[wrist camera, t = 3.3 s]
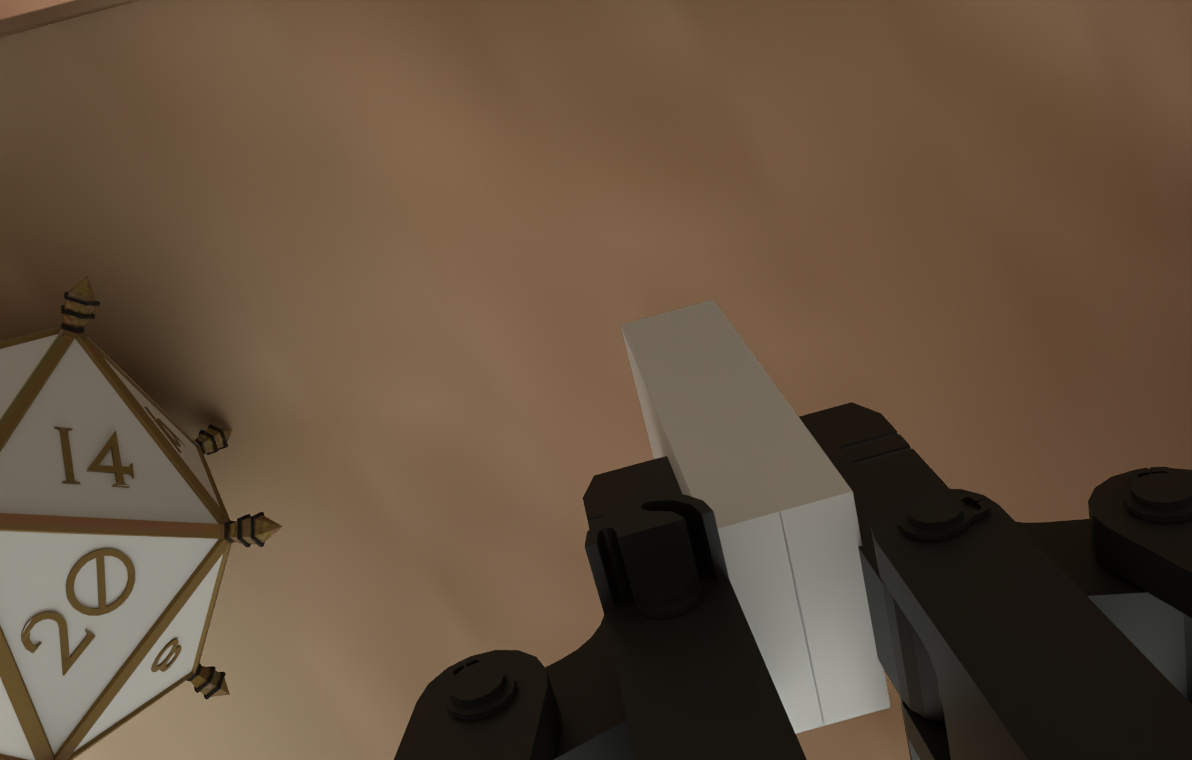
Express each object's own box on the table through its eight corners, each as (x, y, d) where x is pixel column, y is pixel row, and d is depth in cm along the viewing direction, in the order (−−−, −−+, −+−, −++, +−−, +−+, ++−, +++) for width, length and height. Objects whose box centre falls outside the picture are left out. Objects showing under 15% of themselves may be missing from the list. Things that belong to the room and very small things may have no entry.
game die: (120, 310, 25) (46, 91, 16) (347, 602, 25) (407, 553, 16) (-287, 553, 21) (-686, 455, 12) (-26, 895, 21) (-232, 1056, 12)
